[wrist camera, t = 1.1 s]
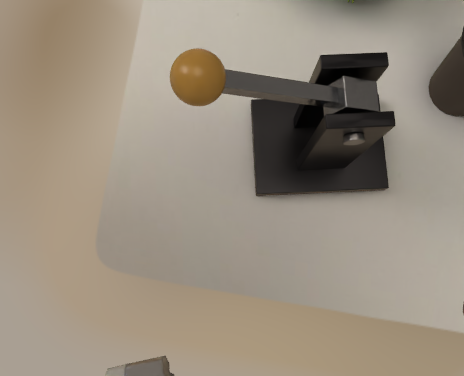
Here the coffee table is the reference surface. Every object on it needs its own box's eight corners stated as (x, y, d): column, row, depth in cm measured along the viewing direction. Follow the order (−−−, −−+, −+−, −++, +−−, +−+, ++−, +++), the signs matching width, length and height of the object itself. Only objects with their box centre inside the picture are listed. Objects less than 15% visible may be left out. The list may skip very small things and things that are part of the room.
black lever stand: (255, 196, 41) (267, 162, 27) (250, 104, 42) (259, 28, 29) (384, 190, 41) (460, 154, 27) (374, 98, 42) (441, 20, 29)
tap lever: (163, 110, 26) (181, 90, 23) (162, 59, 26) (179, 33, 23) (352, 131, 32) (385, 117, 29) (348, 89, 32) (380, 71, 29)
